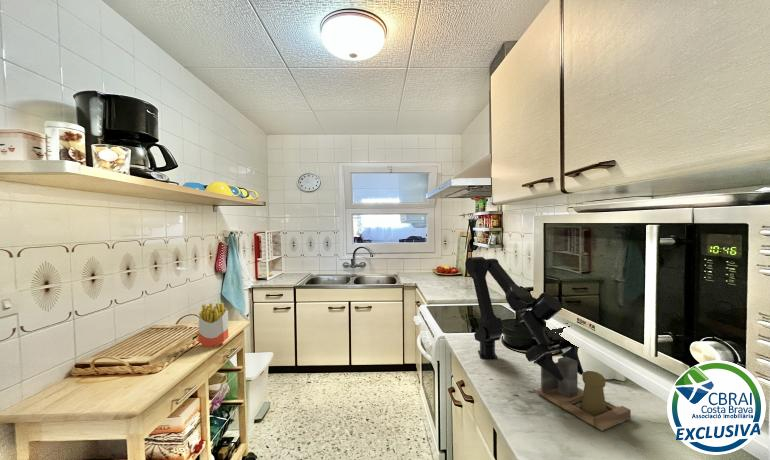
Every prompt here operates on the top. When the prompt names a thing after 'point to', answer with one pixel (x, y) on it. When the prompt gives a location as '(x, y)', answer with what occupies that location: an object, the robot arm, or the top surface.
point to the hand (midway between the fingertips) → (572, 376)
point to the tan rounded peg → (593, 393)
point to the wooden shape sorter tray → (577, 396)
